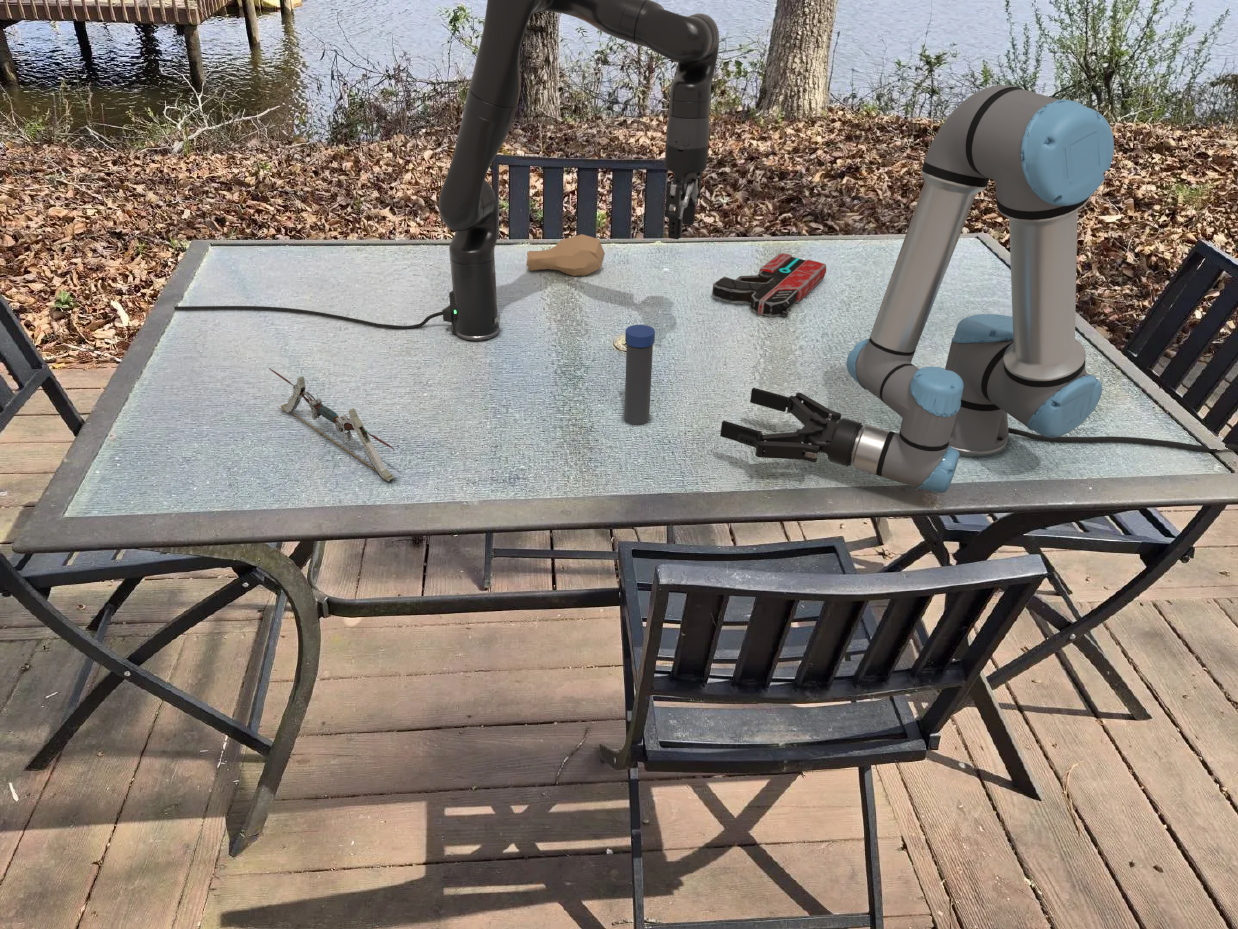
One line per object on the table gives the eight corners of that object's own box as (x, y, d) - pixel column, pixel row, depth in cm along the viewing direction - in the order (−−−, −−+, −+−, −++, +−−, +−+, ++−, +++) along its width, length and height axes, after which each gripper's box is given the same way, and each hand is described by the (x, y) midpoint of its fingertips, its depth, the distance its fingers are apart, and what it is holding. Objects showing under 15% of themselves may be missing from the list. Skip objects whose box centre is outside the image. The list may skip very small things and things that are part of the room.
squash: (606, 279, 220) (601, 247, 214) (527, 286, 222) (521, 255, 215) (606, 257, 228) (602, 226, 222) (531, 264, 229) (524, 233, 223)
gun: (708, 284, 207) (784, 305, 199) (760, 245, 229) (831, 262, 221) (706, 302, 209) (781, 323, 201) (758, 261, 231) (828, 278, 223)
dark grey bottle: (639, 410, 166) (643, 325, 157) (654, 420, 163) (658, 335, 153) (619, 416, 164) (621, 330, 154) (633, 427, 161) (636, 340, 151)
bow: (404, 484, 144) (397, 432, 138) (395, 489, 143) (388, 437, 137) (282, 401, 165) (271, 354, 160) (273, 405, 164) (262, 357, 158)
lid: (643, 332, 158) (644, 322, 157) (660, 343, 154) (660, 333, 153) (619, 339, 155) (619, 328, 154) (635, 350, 152) (636, 339, 151)
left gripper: (679, 130, 161) (673, 217, 170) (654, 148, 150) (649, 240, 159) (718, 134, 159) (711, 222, 168) (695, 153, 148) (689, 246, 157)
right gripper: (831, 502, 136) (706, 462, 144) (873, 431, 155) (760, 400, 163) (839, 462, 132) (710, 423, 140) (881, 394, 151) (765, 363, 159)
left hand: (681, 231), depth 164 cm, fingers open, 8 cm apart
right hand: (736, 411), depth 152 cm, fingers open, 13 cm apart
